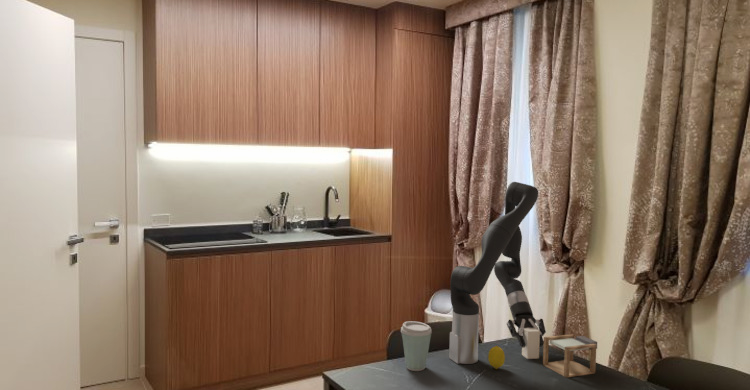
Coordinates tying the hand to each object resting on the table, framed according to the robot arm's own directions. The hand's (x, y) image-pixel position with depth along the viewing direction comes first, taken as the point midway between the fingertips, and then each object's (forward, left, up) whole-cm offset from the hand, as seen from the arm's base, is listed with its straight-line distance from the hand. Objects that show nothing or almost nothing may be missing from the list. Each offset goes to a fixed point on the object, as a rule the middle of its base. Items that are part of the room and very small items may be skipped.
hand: (532, 346), depth 193 cm
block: (0, +2, -4) cm, 5 cm away
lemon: (-19, -5, -5) cm, 20 cm away
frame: (+5, -13, -4) cm, 14 cm away
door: (+7, -13, +3) cm, 15 cm away
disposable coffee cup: (-45, +4, -5) cm, 45 cm away
